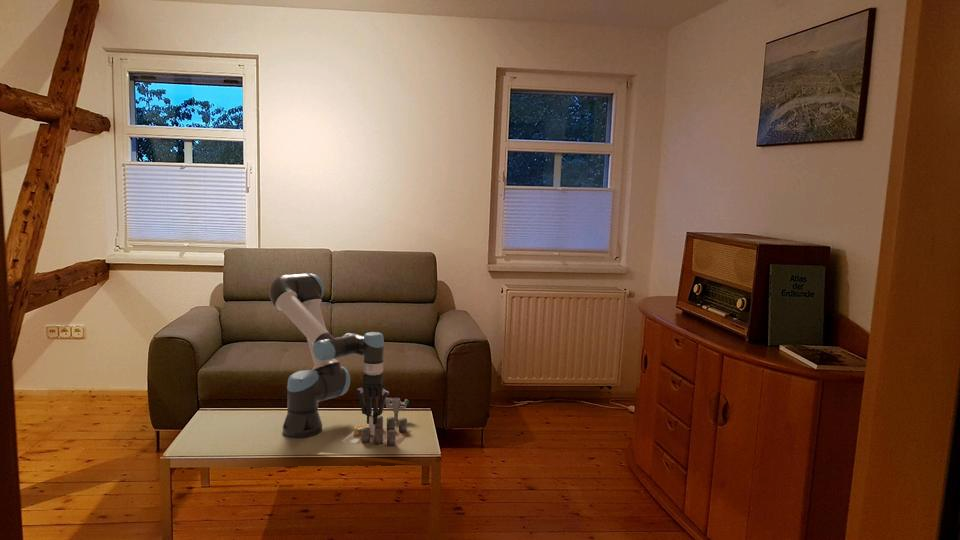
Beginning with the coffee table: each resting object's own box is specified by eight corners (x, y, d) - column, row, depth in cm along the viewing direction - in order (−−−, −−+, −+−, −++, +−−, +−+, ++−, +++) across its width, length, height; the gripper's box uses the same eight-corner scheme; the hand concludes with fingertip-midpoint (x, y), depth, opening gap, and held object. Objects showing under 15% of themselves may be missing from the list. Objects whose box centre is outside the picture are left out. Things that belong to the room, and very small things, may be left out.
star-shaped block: (350, 436, 235) (350, 428, 235) (357, 430, 242) (357, 423, 241) (366, 438, 234) (366, 430, 233) (373, 432, 240) (373, 424, 240)
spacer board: (341, 443, 230) (341, 428, 229) (359, 427, 247) (359, 413, 247) (397, 449, 226) (397, 434, 225) (411, 433, 243) (411, 418, 243)
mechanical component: (407, 423, 254) (408, 400, 253) (383, 422, 254) (383, 399, 253) (408, 421, 257) (409, 398, 256) (384, 420, 257) (384, 397, 256)
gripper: (353, 373, 232) (352, 433, 234) (386, 376, 230) (384, 437, 232) (360, 368, 239) (359, 427, 242) (392, 371, 237) (391, 430, 239)
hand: (371, 432), depth 237 cm, fingers closed
